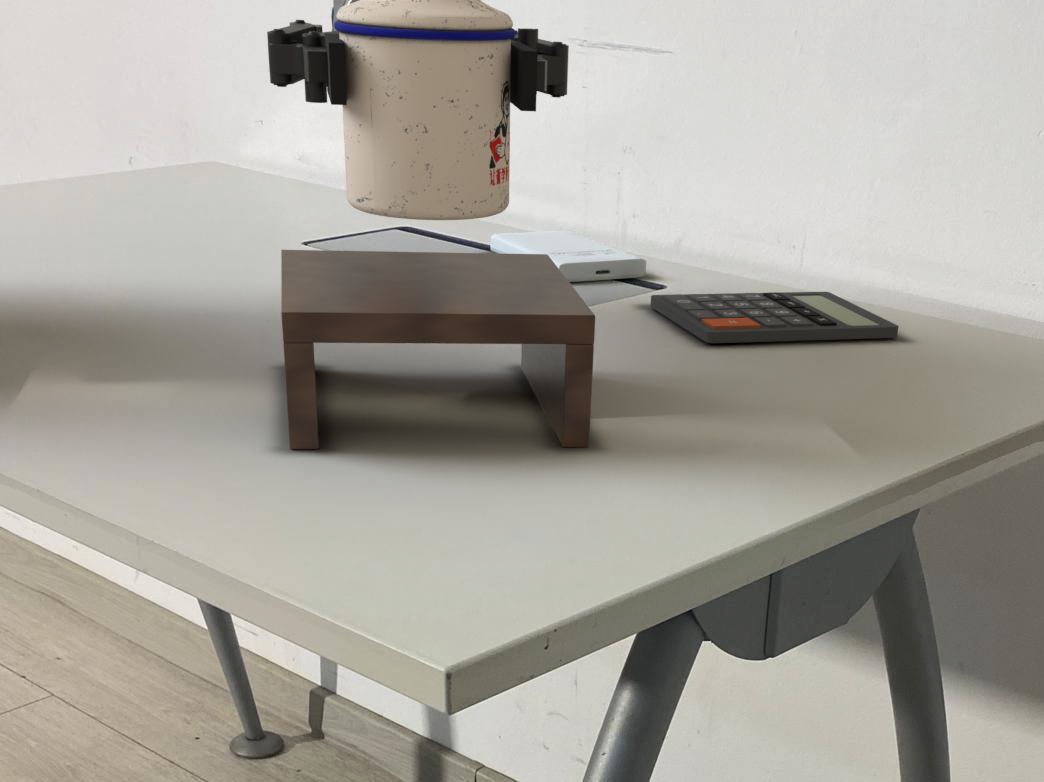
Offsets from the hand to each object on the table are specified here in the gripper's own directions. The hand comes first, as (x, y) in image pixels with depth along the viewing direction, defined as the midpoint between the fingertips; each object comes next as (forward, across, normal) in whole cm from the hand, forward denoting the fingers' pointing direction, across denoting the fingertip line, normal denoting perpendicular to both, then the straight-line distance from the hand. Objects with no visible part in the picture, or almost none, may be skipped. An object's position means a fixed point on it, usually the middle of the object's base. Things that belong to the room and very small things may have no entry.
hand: (434, 77), depth 70 cm
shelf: (-4, 0, -18) cm, 18 cm away
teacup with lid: (-4, 0, -7) cm, 8 cm away
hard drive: (-45, -15, -18) cm, 51 cm away
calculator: (-25, -27, -18) cm, 41 cm away
